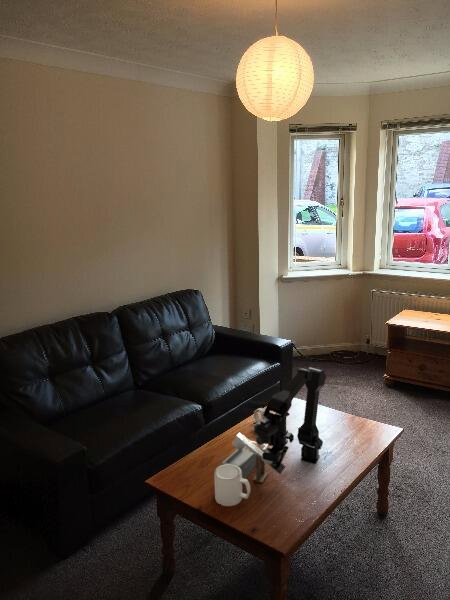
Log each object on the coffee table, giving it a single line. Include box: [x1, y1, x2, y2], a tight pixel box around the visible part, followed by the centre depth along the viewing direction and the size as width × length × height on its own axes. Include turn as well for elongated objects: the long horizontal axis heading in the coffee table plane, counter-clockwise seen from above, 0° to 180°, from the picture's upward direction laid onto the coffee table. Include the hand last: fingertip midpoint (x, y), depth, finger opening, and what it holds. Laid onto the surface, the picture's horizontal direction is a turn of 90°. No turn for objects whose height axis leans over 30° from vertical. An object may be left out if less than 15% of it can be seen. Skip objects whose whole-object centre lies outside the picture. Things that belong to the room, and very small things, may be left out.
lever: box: [231, 431, 286, 475], centre depth 188 cm, size 22×5×6 cm
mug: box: [213, 464, 251, 507], centre depth 176 cm, size 14×10×11 cm
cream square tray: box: [243, 440, 269, 452], centre depth 205 cm, size 10×10×4 cm
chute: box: [221, 448, 256, 479], centre depth 192 cm, size 8×18×8 cm, turn 153°
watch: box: [253, 407, 266, 433], centre depth 225 cm, size 6×8×11 cm
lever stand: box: [252, 449, 269, 484], centre depth 188 cm, size 4×6×11 cm, turn 153°
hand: (278, 465), depth 184 cm, fingers closed, pressing on lever
